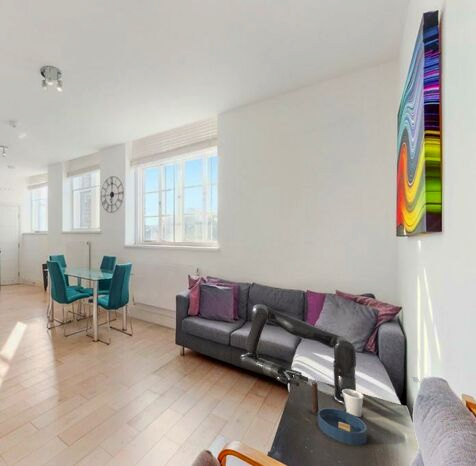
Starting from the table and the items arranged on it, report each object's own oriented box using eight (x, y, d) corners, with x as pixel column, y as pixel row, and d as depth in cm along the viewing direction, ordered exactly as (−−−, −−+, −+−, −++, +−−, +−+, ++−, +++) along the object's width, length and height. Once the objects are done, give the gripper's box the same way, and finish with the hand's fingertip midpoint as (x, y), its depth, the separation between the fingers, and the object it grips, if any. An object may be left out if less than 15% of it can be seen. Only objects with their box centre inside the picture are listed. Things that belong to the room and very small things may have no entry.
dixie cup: (339, 411, 139) (338, 391, 139) (347, 406, 143) (346, 387, 143) (360, 421, 132) (358, 399, 132) (368, 415, 136) (367, 394, 136)
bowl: (329, 415, 137) (328, 403, 137) (374, 436, 122) (373, 423, 122) (310, 427, 128) (310, 415, 128) (356, 452, 113) (355, 438, 113)
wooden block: (339, 430, 125) (338, 421, 125) (350, 434, 122) (350, 425, 123) (338, 435, 122) (338, 426, 122) (350, 439, 119) (350, 430, 119)
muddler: (313, 410, 141) (312, 380, 142) (321, 413, 138) (320, 383, 138) (310, 412, 139) (308, 382, 140) (318, 416, 136) (316, 385, 137)
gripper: (265, 366, 154) (295, 378, 140) (280, 360, 161) (310, 371, 147) (266, 380, 154) (296, 393, 140) (281, 373, 161) (311, 385, 147)
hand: (303, 382), depth 144 cm, fingers open, 8 cm apart
